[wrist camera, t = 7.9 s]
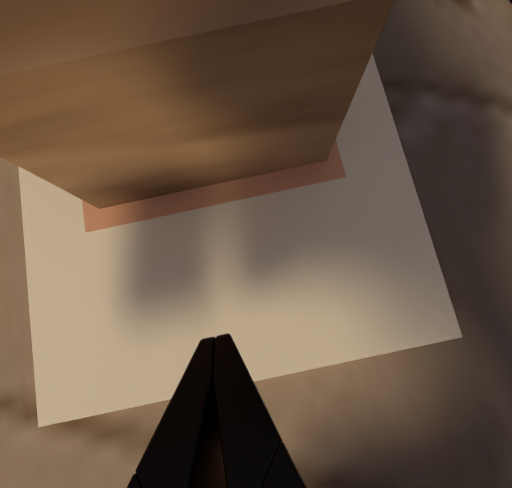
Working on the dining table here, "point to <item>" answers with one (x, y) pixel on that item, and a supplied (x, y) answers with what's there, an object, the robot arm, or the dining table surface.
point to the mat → (233, 273)
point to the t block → (176, 89)
